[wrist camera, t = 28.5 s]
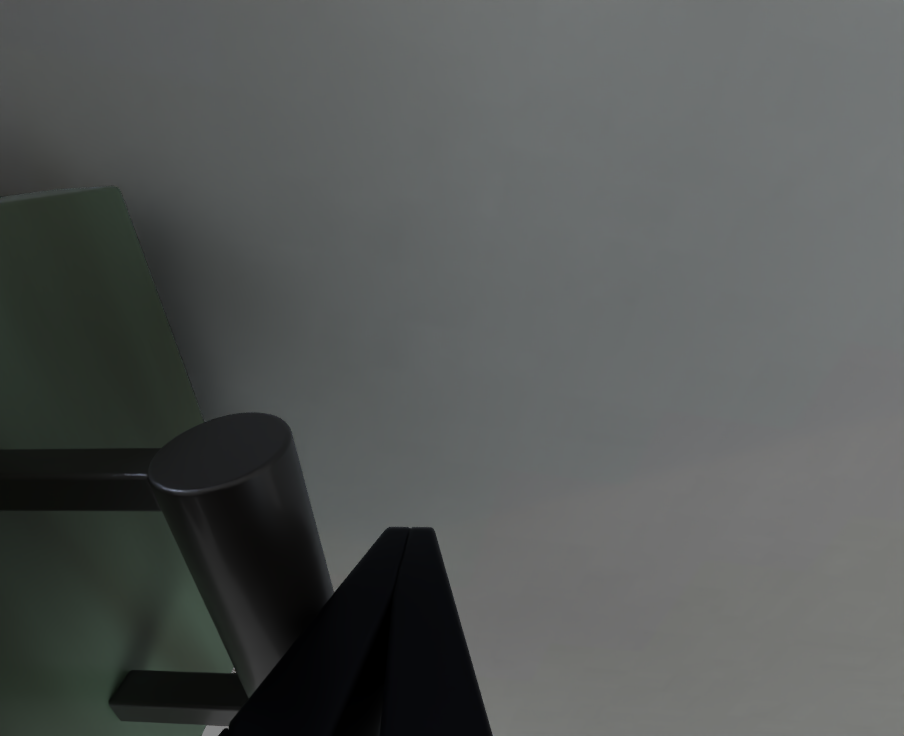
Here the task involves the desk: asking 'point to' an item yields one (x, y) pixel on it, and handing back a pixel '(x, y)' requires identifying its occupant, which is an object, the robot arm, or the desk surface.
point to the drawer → (130, 498)
